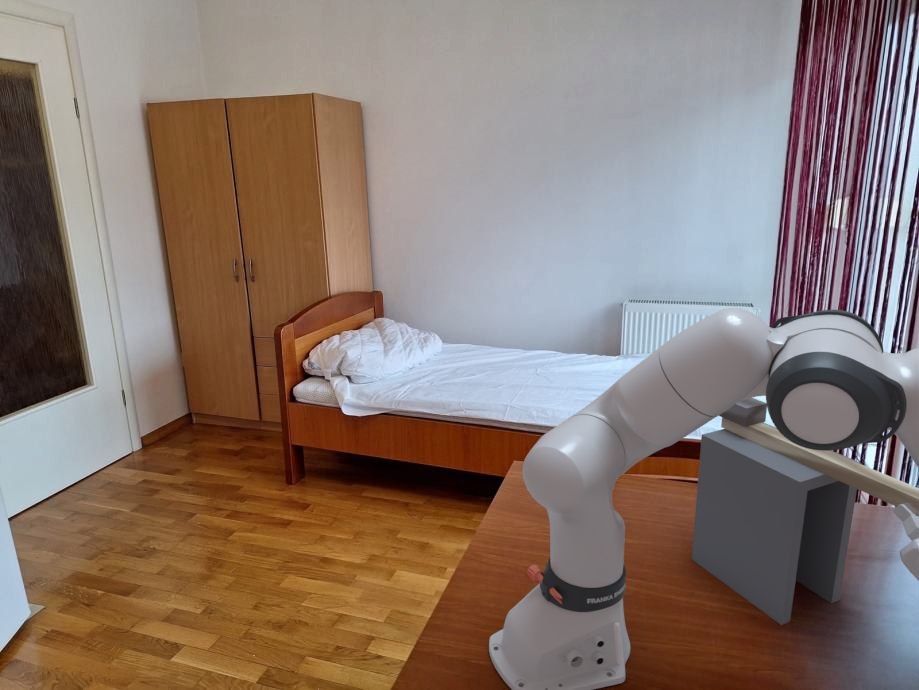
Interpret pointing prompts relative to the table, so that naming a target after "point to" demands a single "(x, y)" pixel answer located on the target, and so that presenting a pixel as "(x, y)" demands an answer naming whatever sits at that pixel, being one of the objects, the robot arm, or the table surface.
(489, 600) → the table surface
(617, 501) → the table surface
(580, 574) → the robot arm
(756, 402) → the birch beam
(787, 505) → the charcoal shelf
